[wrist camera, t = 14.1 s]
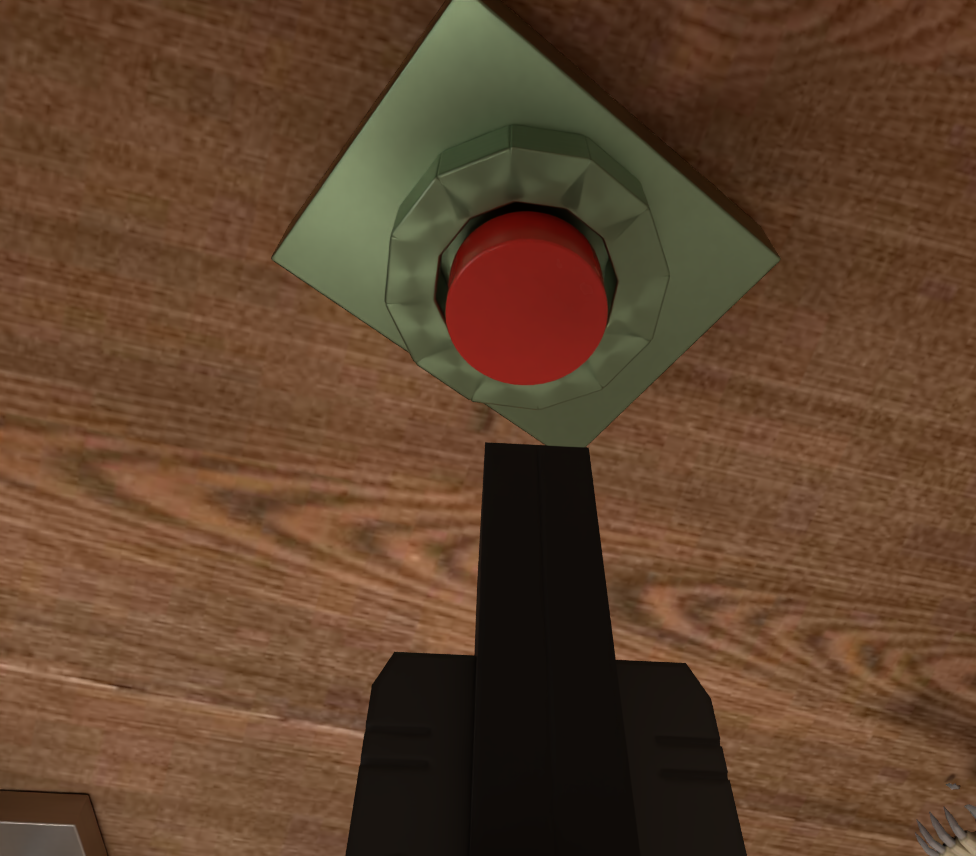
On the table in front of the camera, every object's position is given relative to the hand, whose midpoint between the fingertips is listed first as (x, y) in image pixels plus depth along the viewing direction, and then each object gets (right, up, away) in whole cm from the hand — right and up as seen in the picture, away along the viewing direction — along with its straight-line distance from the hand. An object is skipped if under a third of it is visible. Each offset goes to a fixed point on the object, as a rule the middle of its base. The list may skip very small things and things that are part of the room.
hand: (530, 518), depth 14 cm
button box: (0, +7, +11) cm, 13 cm away
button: (0, +5, +8) cm, 9 cm away
